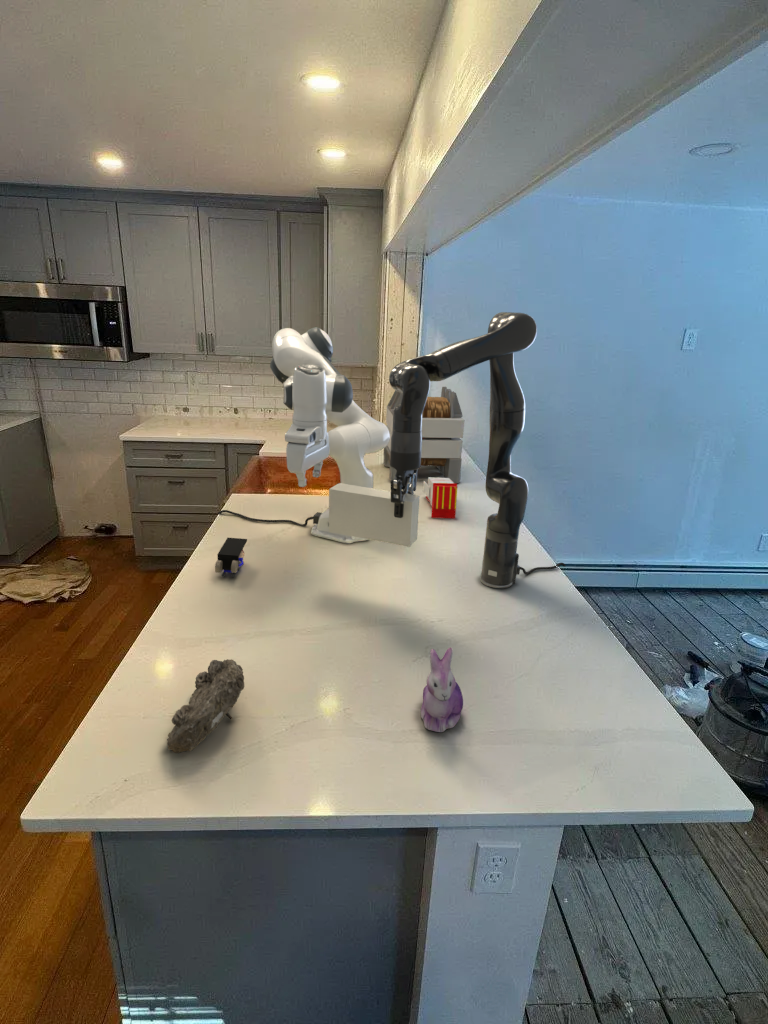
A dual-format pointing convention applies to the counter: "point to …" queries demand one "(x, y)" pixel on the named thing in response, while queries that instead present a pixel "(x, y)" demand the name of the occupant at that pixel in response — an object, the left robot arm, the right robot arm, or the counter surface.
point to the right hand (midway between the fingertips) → (402, 512)
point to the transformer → (435, 434)
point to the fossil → (206, 705)
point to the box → (372, 514)
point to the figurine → (441, 695)
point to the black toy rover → (230, 556)
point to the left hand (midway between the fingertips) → (309, 481)
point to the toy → (441, 497)
